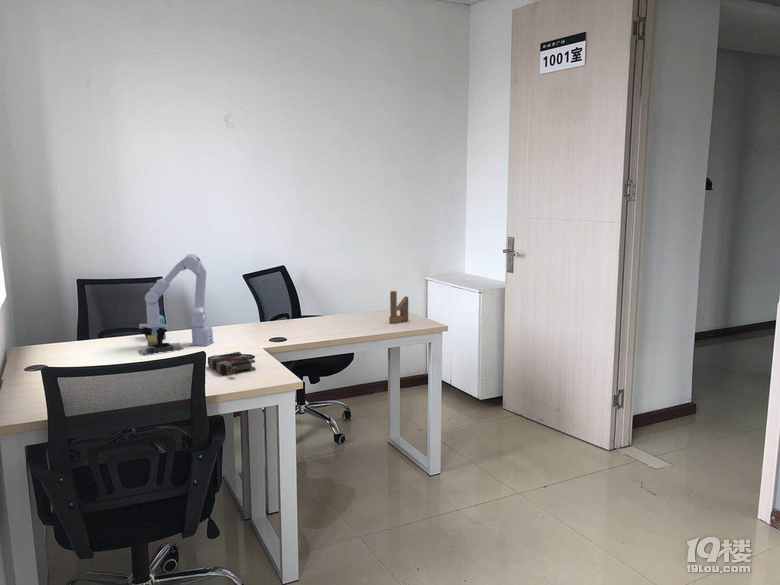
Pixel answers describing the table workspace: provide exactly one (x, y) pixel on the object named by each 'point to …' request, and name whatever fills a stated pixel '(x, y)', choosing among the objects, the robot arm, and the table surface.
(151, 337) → the coupler
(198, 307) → the robot arm
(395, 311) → the brown wooden bracket
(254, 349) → the table surface
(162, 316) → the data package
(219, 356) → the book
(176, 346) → the shaft rig
